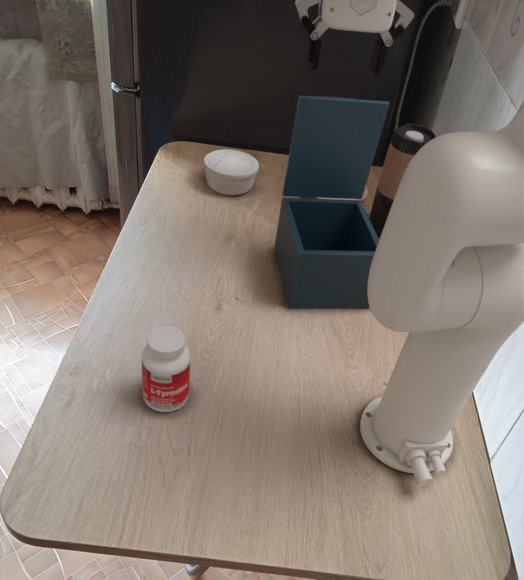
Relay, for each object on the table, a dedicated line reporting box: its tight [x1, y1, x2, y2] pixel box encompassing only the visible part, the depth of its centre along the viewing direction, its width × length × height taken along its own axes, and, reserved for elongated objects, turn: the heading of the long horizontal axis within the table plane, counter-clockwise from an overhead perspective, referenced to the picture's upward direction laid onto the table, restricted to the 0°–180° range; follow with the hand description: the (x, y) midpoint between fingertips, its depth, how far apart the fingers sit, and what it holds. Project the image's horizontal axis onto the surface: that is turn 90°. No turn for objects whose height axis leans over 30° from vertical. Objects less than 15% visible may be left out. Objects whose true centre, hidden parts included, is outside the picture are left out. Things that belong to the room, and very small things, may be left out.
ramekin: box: [203, 149, 260, 196], centre depth 117 cm, size 11×11×5 cm
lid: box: [281, 95, 390, 199], centre depth 92 cm, size 17×14×5 cm
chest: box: [273, 197, 380, 309], centre depth 96 cm, size 16×14×11 cm
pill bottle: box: [141, 325, 192, 413], centre depth 73 cm, size 6×6×11 cm
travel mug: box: [368, 123, 437, 238], centre depth 107 cm, size 8×8×20 cm
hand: (343, 69), depth 86 cm, fingers open, 9 cm apart
